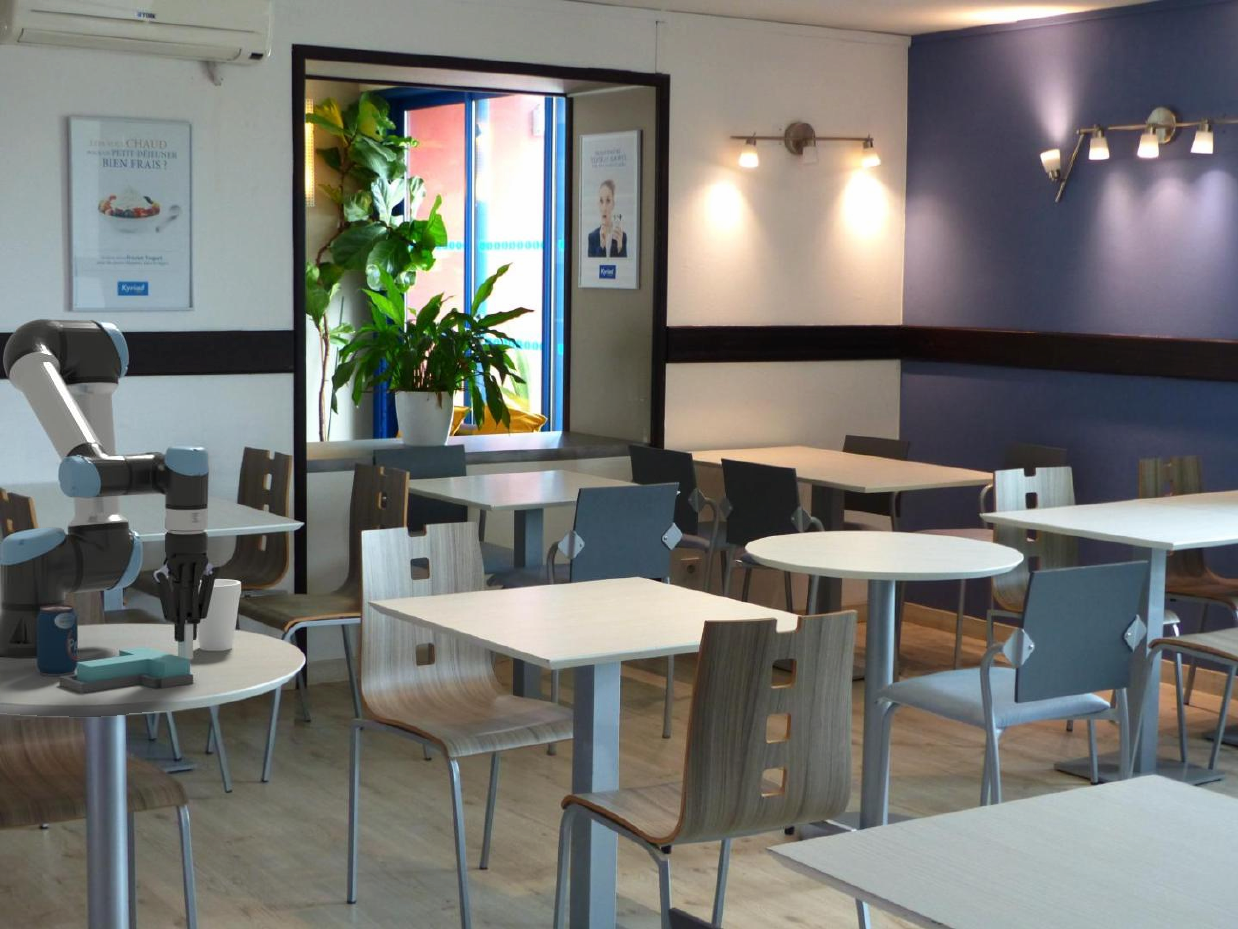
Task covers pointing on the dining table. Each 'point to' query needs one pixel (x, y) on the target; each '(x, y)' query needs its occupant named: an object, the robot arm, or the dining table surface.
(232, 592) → the foam cup
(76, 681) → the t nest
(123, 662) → the t block
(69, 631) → the soda can
